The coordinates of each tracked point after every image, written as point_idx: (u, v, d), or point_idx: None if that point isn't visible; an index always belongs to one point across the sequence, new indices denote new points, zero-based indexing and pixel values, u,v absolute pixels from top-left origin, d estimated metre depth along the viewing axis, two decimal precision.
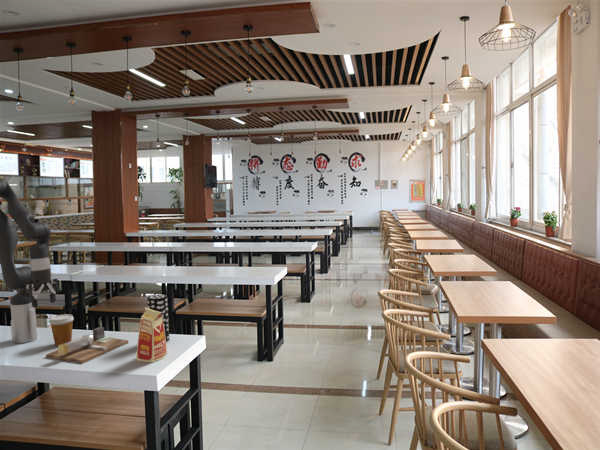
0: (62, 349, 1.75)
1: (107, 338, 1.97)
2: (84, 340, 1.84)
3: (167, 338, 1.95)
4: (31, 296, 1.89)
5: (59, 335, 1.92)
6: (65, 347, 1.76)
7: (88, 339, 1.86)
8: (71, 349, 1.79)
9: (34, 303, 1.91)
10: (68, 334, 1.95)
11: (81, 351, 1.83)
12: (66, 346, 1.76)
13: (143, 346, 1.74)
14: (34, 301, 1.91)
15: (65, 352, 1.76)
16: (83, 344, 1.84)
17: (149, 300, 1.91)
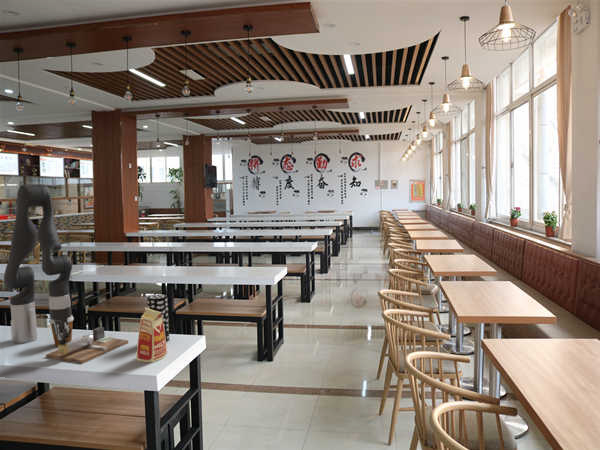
0: (62, 349, 1.75)
1: (107, 338, 1.97)
2: (84, 340, 1.84)
3: (167, 338, 1.95)
4: None
5: None
6: (65, 347, 1.76)
7: (88, 339, 1.86)
8: (71, 349, 1.79)
9: None
10: None
11: (81, 351, 1.83)
12: (66, 346, 1.76)
13: (143, 346, 1.74)
14: (65, 341, 1.80)
15: (65, 352, 1.76)
16: (83, 344, 1.84)
17: (149, 300, 1.91)
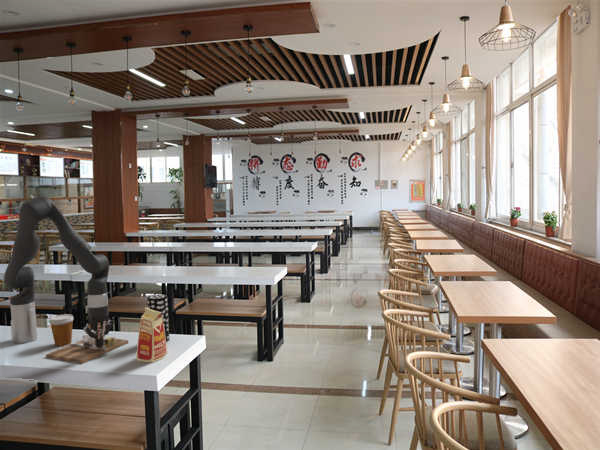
0: (112, 342, 1.83)
1: None
2: None
3: (167, 338, 1.95)
4: None
5: (59, 335, 1.92)
6: None
7: None
8: None
9: None
10: (68, 334, 1.95)
11: (81, 351, 1.83)
12: None
13: (143, 346, 1.74)
14: None
15: None
16: None
17: (149, 300, 1.91)
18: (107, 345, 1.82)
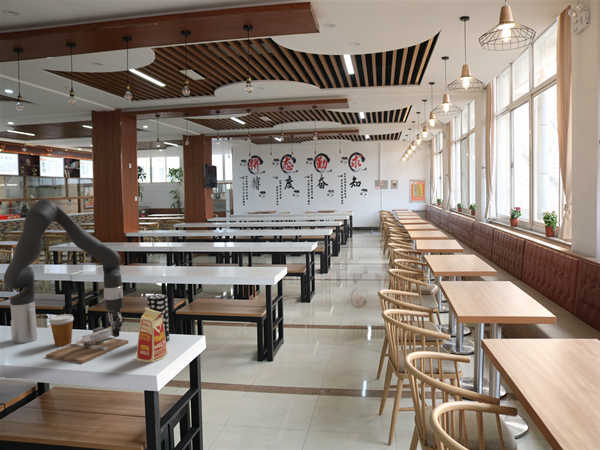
0: None
1: (107, 338, 1.97)
2: None
3: (167, 338, 1.95)
4: (110, 323, 1.93)
5: (59, 335, 1.92)
6: None
7: None
8: None
9: (113, 331, 1.93)
10: (68, 334, 1.95)
11: (81, 351, 1.83)
12: None
13: (143, 346, 1.74)
14: (113, 329, 1.93)
15: None
16: None
17: (149, 300, 1.91)
18: None
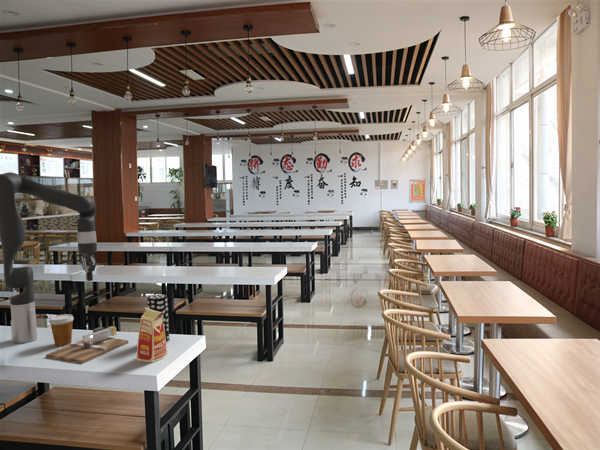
0: None
1: (107, 338, 1.97)
2: None
3: (167, 338, 1.95)
4: (83, 268, 1.98)
5: (59, 335, 1.92)
6: None
7: None
8: None
9: None
10: (68, 334, 1.94)
11: (81, 351, 1.83)
12: None
13: (143, 346, 1.74)
14: None
15: None
16: None
17: (149, 300, 1.91)
18: (114, 333, 1.98)
